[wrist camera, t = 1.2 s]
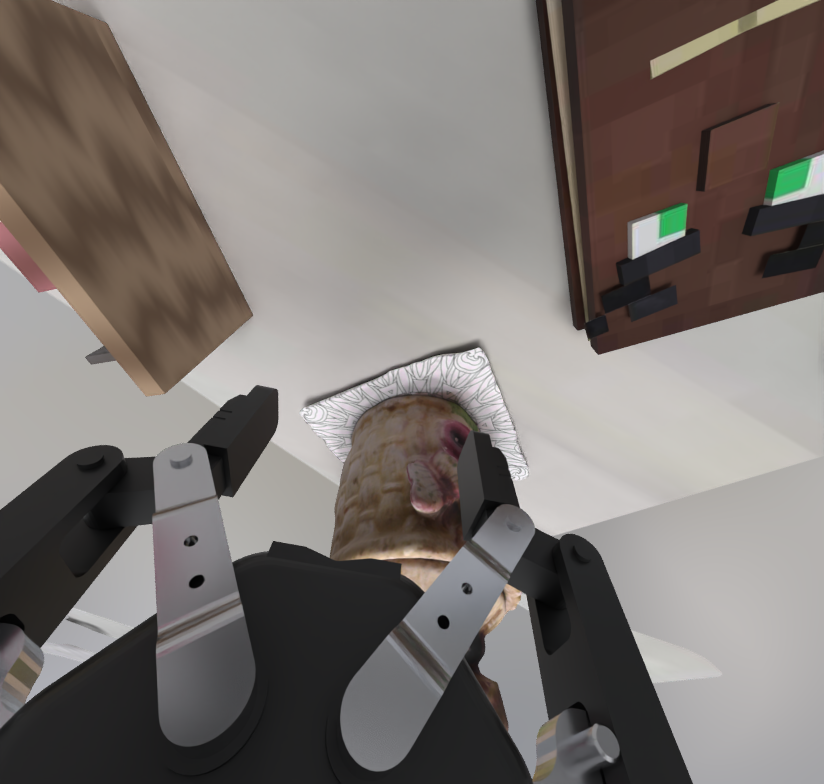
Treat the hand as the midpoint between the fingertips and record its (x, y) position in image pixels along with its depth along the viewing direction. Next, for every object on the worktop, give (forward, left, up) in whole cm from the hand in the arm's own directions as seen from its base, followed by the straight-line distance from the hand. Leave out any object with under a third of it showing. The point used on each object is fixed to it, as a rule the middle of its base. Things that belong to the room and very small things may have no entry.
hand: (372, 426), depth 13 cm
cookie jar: (+23, -2, -23) cm, 32 cm away
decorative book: (-5, +22, -23) cm, 33 cm away
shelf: (-9, -24, -23) cm, 35 cm away
